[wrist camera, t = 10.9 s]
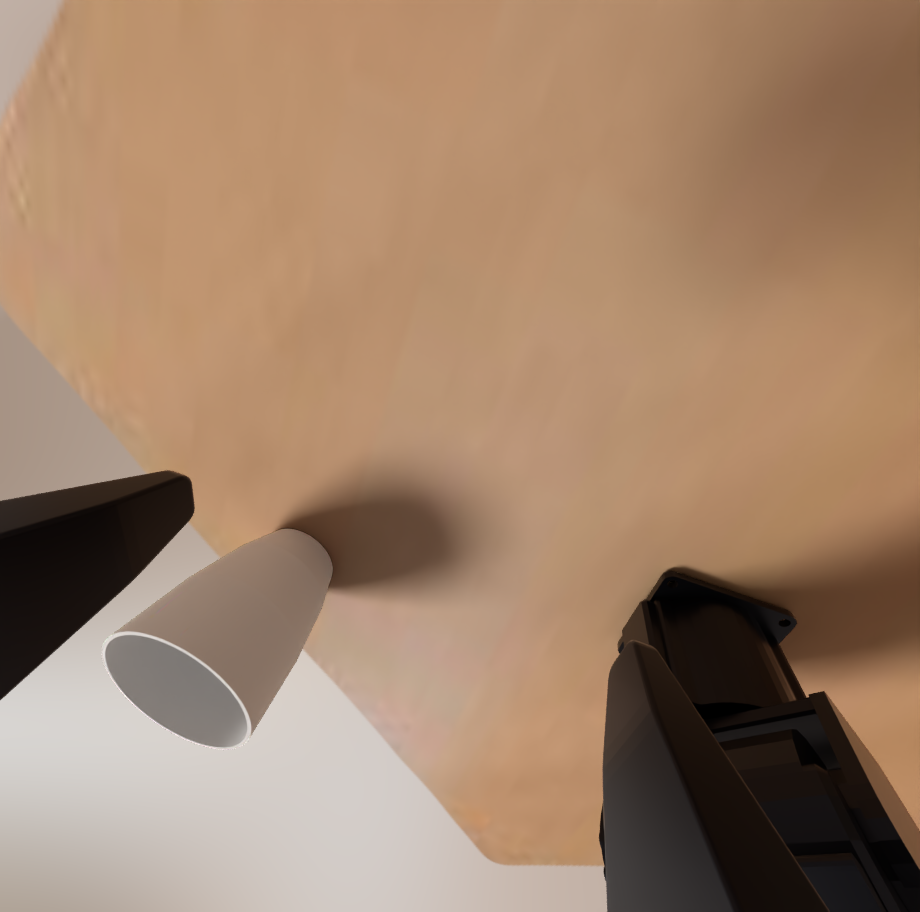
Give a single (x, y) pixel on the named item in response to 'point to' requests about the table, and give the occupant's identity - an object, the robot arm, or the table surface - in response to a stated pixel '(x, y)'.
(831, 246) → the table surface
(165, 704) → the cup
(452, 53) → the table surface
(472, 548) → the table surface
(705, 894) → the robot arm
